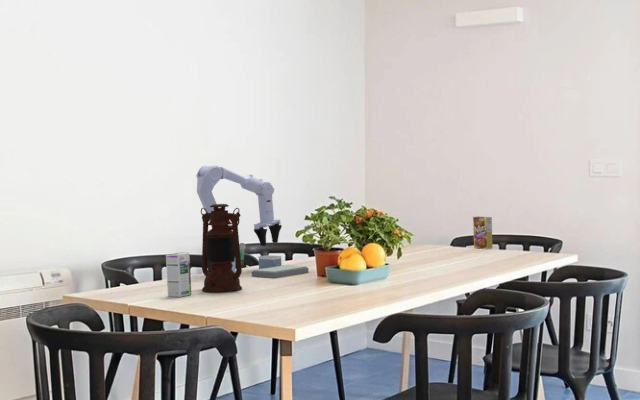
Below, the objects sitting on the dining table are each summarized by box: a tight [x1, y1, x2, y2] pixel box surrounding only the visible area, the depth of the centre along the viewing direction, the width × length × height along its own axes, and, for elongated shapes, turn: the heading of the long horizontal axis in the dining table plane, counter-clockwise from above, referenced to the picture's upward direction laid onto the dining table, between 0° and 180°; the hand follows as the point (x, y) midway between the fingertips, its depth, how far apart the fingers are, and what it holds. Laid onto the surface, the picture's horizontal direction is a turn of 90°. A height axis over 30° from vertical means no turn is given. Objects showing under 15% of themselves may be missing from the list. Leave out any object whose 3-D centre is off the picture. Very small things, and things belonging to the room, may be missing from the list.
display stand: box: [251, 264, 310, 279], centre depth 353 cm, size 20×12×2 cm, turn 140°
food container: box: [235, 242, 247, 270], centre depth 381 cm, size 12×6×10 cm, turn 143°
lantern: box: [200, 203, 243, 294], centre depth 313 cm, size 17×14×30 cm
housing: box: [258, 254, 282, 269], centre depth 367 cm, size 5×8×6 cm, turn 50°
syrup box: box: [165, 251, 192, 298], centre depth 303 cm, size 6×6×14 cm
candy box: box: [472, 216, 493, 250], centre depth 434 cm, size 9×4×15 cm, turn 35°
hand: (269, 244), depth 367 cm, fingers open, 7 cm apart
